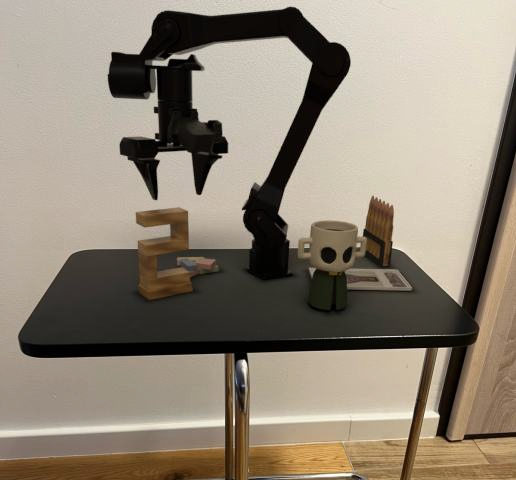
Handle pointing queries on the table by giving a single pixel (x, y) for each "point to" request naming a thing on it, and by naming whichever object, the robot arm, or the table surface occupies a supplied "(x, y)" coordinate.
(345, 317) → the table surface
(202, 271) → the letter pile
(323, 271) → the character mug
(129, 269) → the table surface
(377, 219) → the ammunition clip
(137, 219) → the wooden numeral
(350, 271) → the graded card
